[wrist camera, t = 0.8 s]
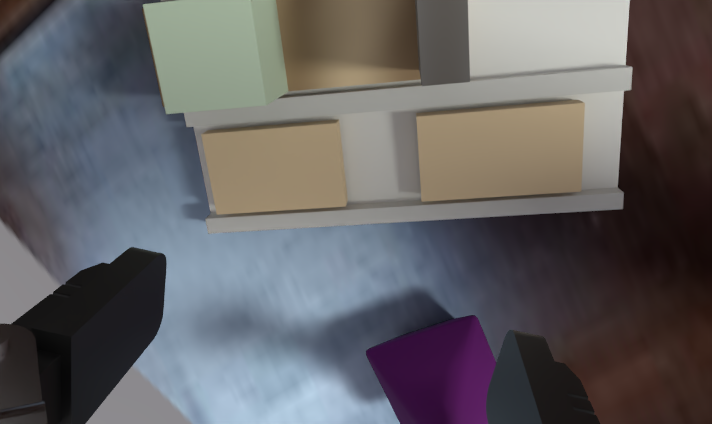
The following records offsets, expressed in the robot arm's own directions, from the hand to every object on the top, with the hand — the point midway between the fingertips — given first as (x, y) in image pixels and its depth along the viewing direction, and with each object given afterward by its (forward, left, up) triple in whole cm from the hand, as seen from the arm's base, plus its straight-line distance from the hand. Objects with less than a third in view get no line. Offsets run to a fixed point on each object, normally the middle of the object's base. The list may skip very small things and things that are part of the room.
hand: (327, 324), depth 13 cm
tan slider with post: (+3, -6, -21) cm, 22 cm away
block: (+7, -6, -20) cm, 22 cm away
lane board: (-1, -2, -22) cm, 22 cm away
